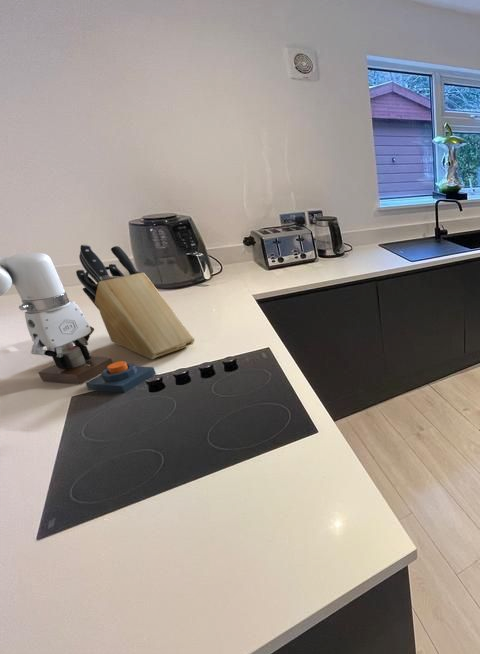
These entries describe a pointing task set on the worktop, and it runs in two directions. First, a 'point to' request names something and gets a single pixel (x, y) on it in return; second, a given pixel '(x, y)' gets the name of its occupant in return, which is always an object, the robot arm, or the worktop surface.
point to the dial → (74, 356)
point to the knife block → (131, 306)
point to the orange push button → (117, 367)
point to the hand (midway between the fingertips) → (75, 363)
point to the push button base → (121, 379)
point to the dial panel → (76, 371)
